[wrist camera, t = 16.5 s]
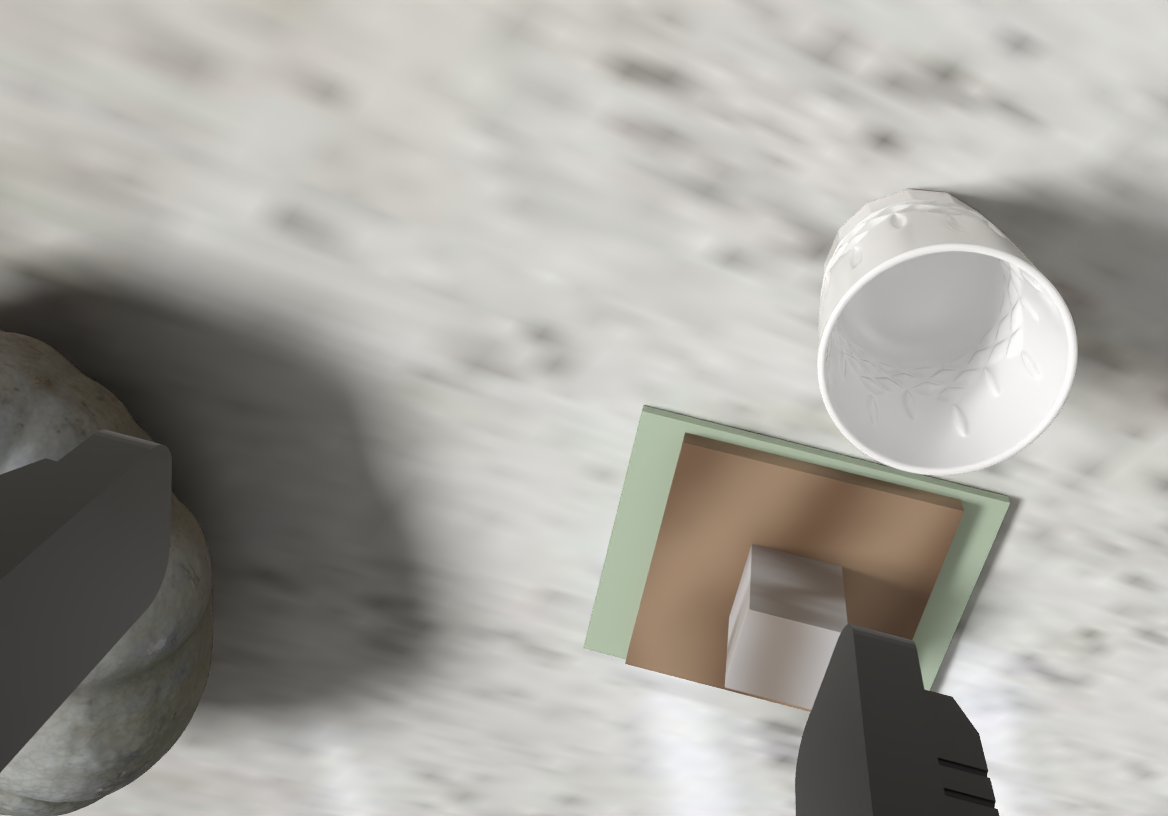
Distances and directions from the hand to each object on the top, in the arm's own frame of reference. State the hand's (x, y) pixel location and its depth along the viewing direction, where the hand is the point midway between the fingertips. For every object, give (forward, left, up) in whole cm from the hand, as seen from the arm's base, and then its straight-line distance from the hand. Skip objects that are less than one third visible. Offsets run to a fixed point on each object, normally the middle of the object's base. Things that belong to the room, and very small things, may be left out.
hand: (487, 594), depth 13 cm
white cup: (-10, +4, -33) cm, 35 cm away
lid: (-9, +19, -32) cm, 39 cm away
